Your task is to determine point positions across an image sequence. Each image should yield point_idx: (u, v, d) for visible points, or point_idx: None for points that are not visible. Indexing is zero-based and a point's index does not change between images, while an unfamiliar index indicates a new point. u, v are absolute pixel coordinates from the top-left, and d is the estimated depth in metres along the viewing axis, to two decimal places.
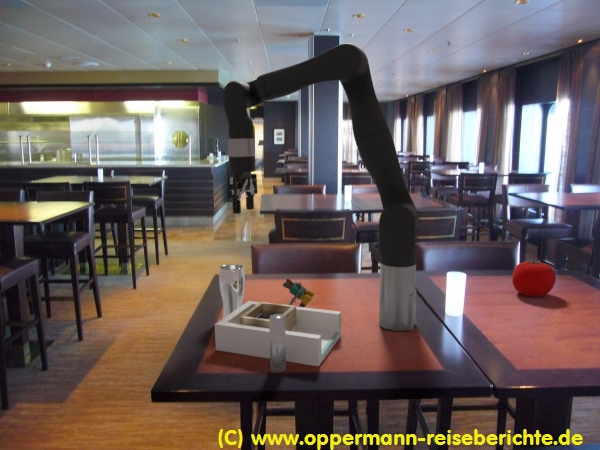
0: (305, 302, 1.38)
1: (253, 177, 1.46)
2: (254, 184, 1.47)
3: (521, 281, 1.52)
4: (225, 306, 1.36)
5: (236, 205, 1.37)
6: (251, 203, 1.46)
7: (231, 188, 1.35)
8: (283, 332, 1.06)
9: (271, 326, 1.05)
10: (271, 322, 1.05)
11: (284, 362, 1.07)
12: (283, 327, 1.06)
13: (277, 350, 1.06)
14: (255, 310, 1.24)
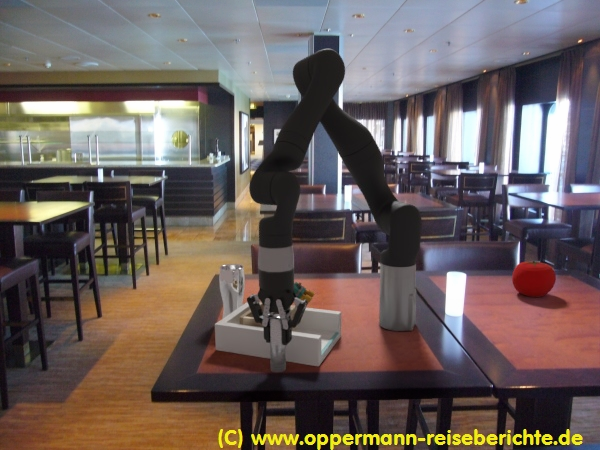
0: None
1: None
2: (259, 306, 1.08)
3: (521, 281, 1.52)
4: (225, 306, 1.36)
5: (291, 333, 1.06)
6: None
7: (301, 315, 1.04)
8: None
9: (271, 326, 1.05)
10: (271, 322, 1.05)
11: (284, 362, 1.07)
12: None
13: (277, 350, 1.06)
14: None
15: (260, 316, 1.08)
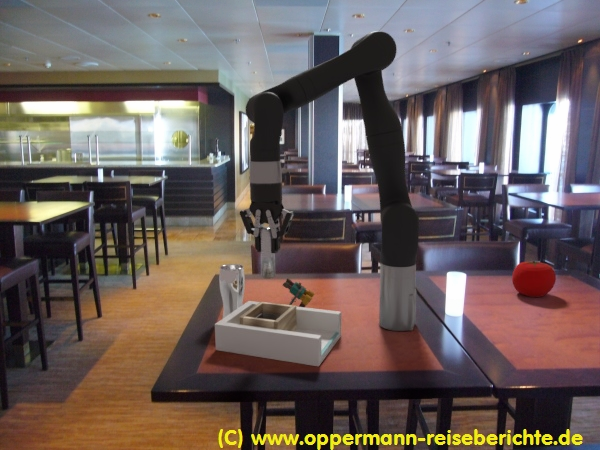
0: (305, 302, 1.38)
1: None
2: (251, 220, 1.20)
3: (521, 281, 1.52)
4: (225, 306, 1.36)
5: (279, 242, 1.18)
6: None
7: (288, 225, 1.16)
8: None
9: (261, 236, 1.17)
10: (261, 232, 1.17)
11: (273, 269, 1.19)
12: (272, 237, 1.17)
13: (267, 257, 1.17)
14: (255, 310, 1.24)
15: (252, 228, 1.19)
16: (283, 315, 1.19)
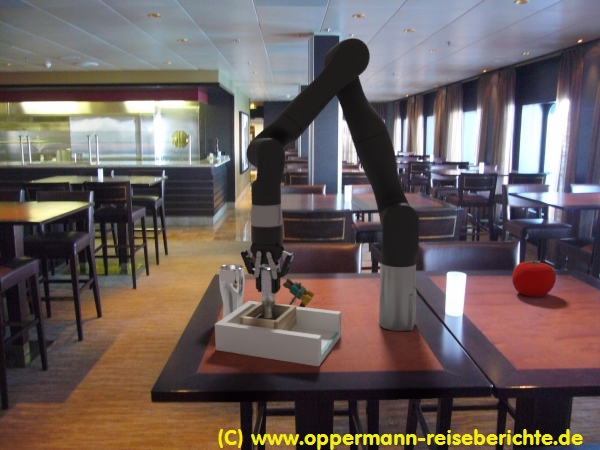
0: (305, 302, 1.38)
1: None
2: (252, 260, 1.22)
3: (521, 281, 1.52)
4: (225, 306, 1.36)
5: (279, 283, 1.20)
6: None
7: (289, 266, 1.18)
8: None
9: (262, 276, 1.19)
10: (262, 273, 1.19)
11: (274, 309, 1.21)
12: None
13: (267, 298, 1.19)
14: (255, 310, 1.24)
15: (252, 268, 1.21)
16: (283, 315, 1.19)
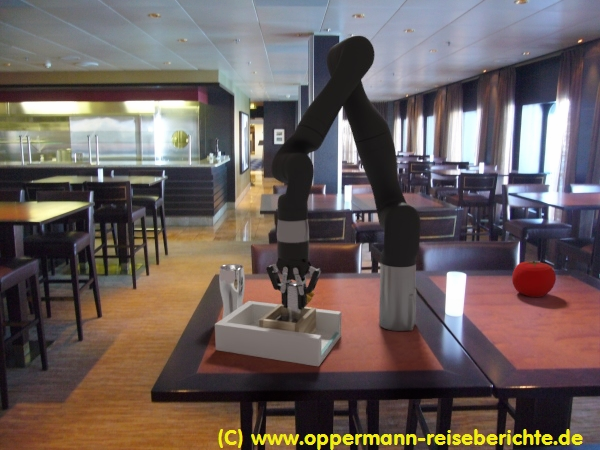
0: None
1: None
2: (277, 275, 1.20)
3: (521, 281, 1.52)
4: (225, 306, 1.36)
5: (306, 298, 1.18)
6: None
7: (316, 282, 1.16)
8: None
9: (288, 292, 1.17)
10: (288, 289, 1.17)
11: None
12: None
13: (293, 314, 1.18)
14: (274, 313, 1.22)
15: (278, 284, 1.19)
16: (304, 318, 1.17)
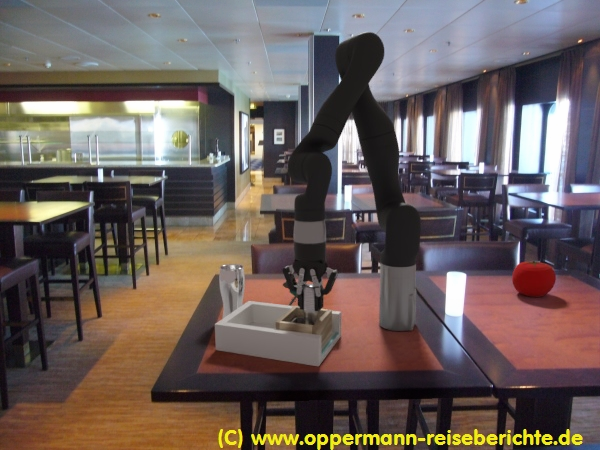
0: None
1: None
2: (293, 277, 1.19)
3: (521, 281, 1.52)
4: (225, 306, 1.36)
5: (322, 300, 1.17)
6: None
7: (333, 283, 1.15)
8: None
9: (305, 294, 1.16)
10: (305, 290, 1.16)
11: None
12: None
13: (310, 316, 1.16)
14: (290, 315, 1.21)
15: (294, 285, 1.18)
16: (320, 320, 1.16)
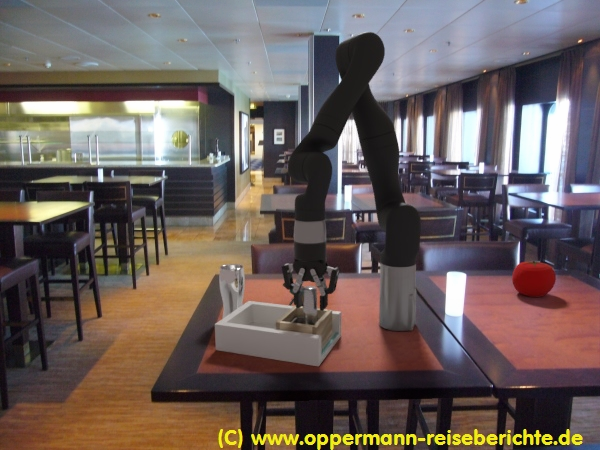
0: None
1: None
2: (291, 275, 1.19)
3: (521, 281, 1.52)
4: (225, 306, 1.36)
5: (327, 299, 1.16)
6: (301, 298, 1.19)
7: (336, 281, 1.14)
8: (315, 302, 1.16)
9: (304, 296, 1.16)
10: (304, 293, 1.16)
11: None
12: (315, 297, 1.16)
13: (310, 318, 1.16)
14: (290, 315, 1.21)
15: (290, 284, 1.18)
16: (321, 320, 1.16)
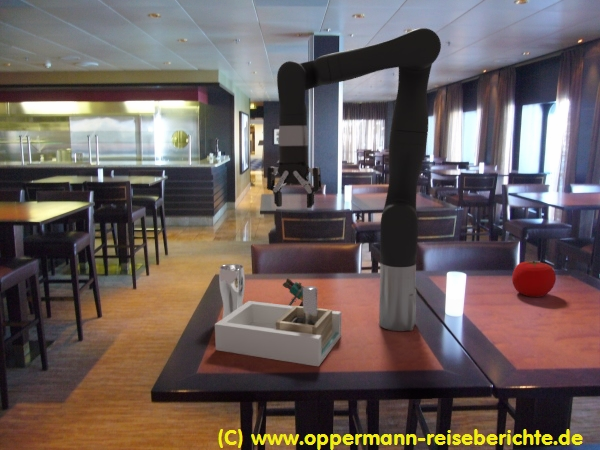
0: None
1: None
2: (274, 178, 1.30)
3: (521, 281, 1.52)
4: (225, 306, 1.36)
5: (313, 198, 1.27)
6: (281, 199, 1.30)
7: (319, 179, 1.25)
8: (315, 302, 1.16)
9: (305, 296, 1.16)
10: (305, 293, 1.16)
11: None
12: (315, 297, 1.16)
13: (310, 318, 1.16)
14: (290, 315, 1.21)
15: (271, 185, 1.30)
16: (321, 320, 1.16)
